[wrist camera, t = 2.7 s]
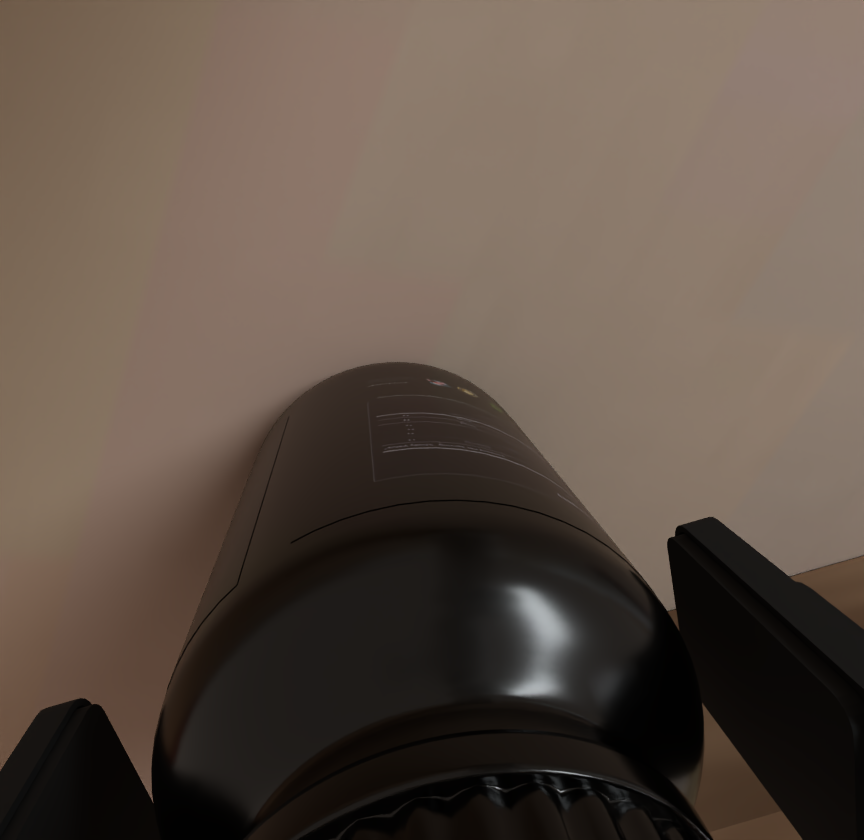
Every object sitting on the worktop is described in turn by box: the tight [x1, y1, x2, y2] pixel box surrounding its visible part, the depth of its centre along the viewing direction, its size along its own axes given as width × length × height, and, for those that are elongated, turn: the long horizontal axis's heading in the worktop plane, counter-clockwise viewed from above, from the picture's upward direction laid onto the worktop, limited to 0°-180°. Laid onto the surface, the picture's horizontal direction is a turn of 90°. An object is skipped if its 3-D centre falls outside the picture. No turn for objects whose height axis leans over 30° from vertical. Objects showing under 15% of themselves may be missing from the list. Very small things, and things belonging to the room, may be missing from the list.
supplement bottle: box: [152, 362, 714, 840], centre depth 10 cm, size 7×7×12 cm
